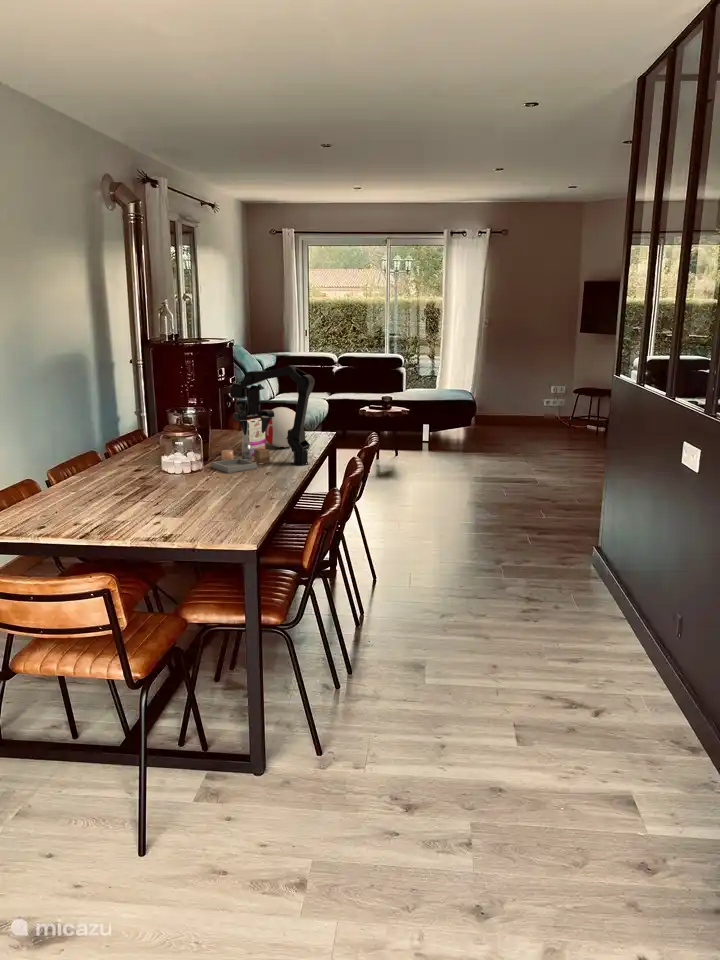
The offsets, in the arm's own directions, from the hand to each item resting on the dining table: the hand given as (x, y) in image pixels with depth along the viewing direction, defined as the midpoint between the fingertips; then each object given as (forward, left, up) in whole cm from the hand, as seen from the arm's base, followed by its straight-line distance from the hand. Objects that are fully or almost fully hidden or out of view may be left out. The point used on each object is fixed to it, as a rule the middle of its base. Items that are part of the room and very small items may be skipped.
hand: (254, 433), depth 333 cm
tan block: (+5, +11, -12) cm, 17 cm away
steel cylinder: (+5, +1, -12) cm, 13 cm away
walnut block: (-6, 0, -12) cm, 14 cm away
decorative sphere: (+19, -28, -12) cm, 36 cm away
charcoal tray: (-9, +16, -12) cm, 22 cm away
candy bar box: (+13, -8, -12) cm, 20 cm away
